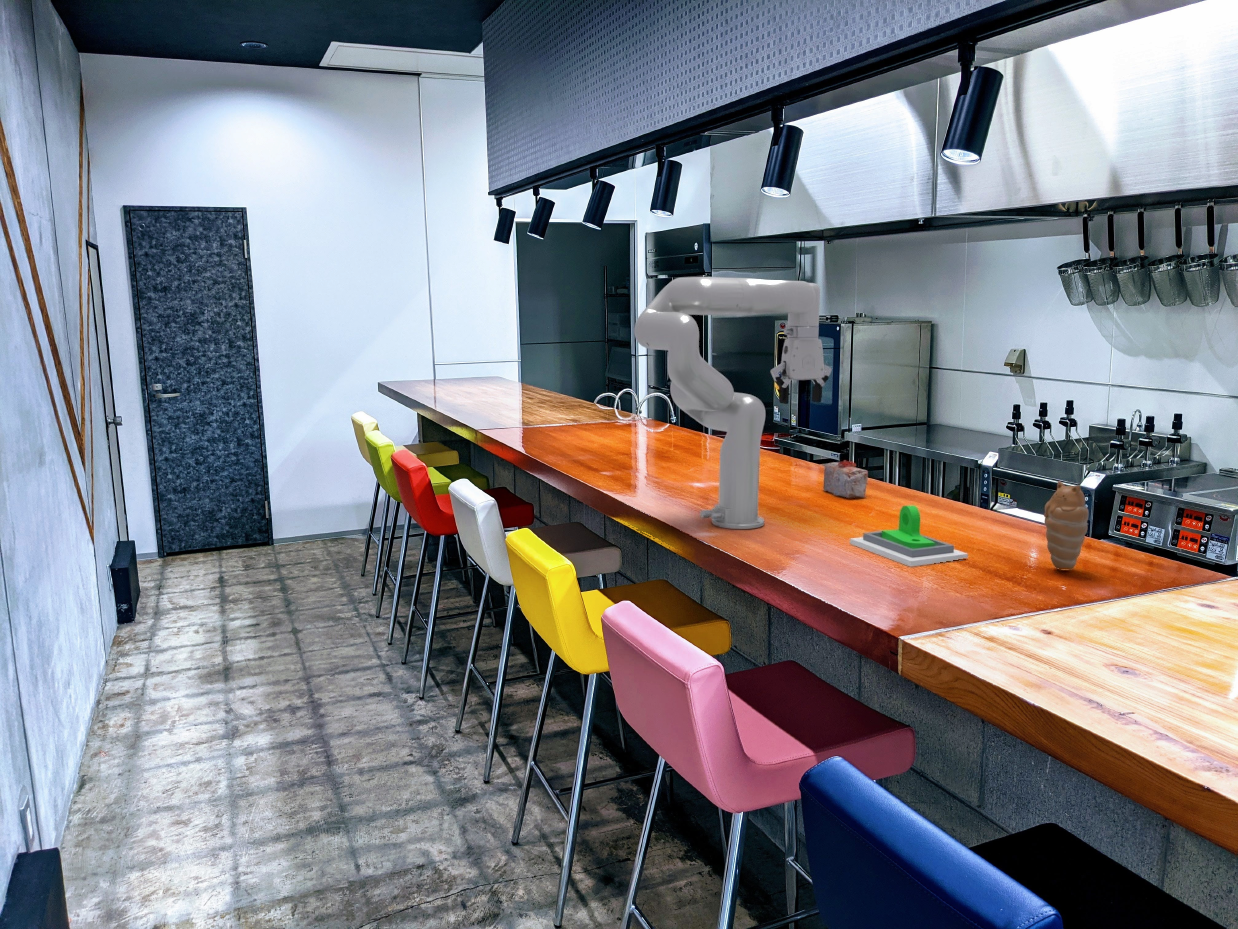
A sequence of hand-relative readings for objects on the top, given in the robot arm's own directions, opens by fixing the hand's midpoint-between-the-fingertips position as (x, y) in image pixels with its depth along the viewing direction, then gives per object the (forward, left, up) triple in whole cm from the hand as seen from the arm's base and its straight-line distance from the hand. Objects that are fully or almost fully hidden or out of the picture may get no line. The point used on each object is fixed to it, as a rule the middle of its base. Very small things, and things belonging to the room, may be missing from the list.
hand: (800, 402), depth 233 cm
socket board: (+1, -41, -28) cm, 50 cm away
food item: (+25, +14, -29) cm, 41 cm away
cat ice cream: (+20, -65, -28) cm, 74 cm away
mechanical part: (+1, -41, -27) cm, 49 cm away
